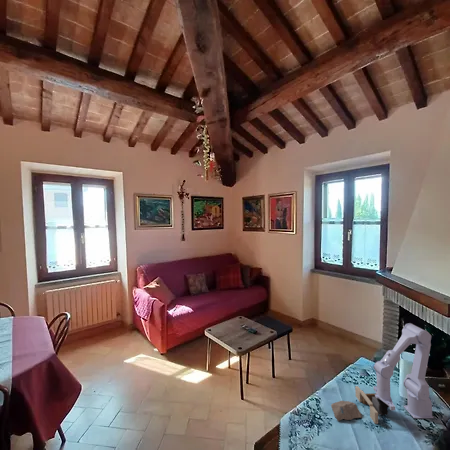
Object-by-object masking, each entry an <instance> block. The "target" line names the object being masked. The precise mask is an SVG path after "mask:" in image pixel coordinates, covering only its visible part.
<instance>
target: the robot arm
mask: <svg viewBox="0 0 450 450" xmlns="http://www.w3.org/2000/svg"><path fill="white" fill-rule="evenodd" d="M431 340H432V335H431V334H430V332H428V330H425V329H423V328H421V327H419V326H417V325H415V324H413V323H411V322H409V323H405V325H404V327H403V328H402V330H401V336H400V338H399V339H398V340H397V342H396V344H395V345H394V347H393V348H392V349H389V350H387V351H386V353H384V355H383V357H382V358H381V359H380V360H377V361H376V362H375V363H374V365H373V369H374V371H375V374H376V385H374V386H373V391H374V392H375V393H376V394H375V397H376V398H377V400H378V402H379V405H380V410H381V413H382V414H383V415H382V416H388V415H387V414H389V410H390V411H396V406H395V404H394V403H393V402H394V401H393V399H392V397H391V378H392V377H393V376H394V371H395V367H396V366H397V365H398V363H399V362H400V361H401V356H400V355H402V353H403V352H404V351H405V350H406V349H407V348H408V347H409V346H410V345H415V351H414V355H413V356H414V357H413V362H412V365H411V366H412V368H411V373H407V374H406V376H405V378H404V379H403V387H405V390H406V394H407V405H403V408H404V409H405V410H406V411H407V412H408V413H409V414H410V415H411V416H412V418H414V419H434V416H433V404H432V400H431V399H430V393H431V392H430V386H429V383H427V381H426V373H427V368H428V362H429V357H430V353H431V352H430V351H431V346H432V343H431Z"/></svg>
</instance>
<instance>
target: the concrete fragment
mask: <svg viewBox="0 0 450 450" xmlns="http://www.w3.org/2000/svg"><path fill="white" fill-rule="evenodd" d="M330 406H331V410H332V412H333V415H334V417H335V418H336V421H337V422H339V421H342V420H343V419H344V420H347V421H348V420H353V419H358V418H360V419H361V418H363V417H362V416H363V415H362V413H361V411H360V410H359V407H358V406H357V404H356V403H354V402H352V401H349V400H346V401H345V400H339V401H337V402H333V403H331V405H330Z"/></svg>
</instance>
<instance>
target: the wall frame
mask: <svg viewBox="0 0 450 450" xmlns="http://www.w3.org/2000/svg"><path fill="white" fill-rule="evenodd" d="M354 390H355V397H356V398H357V400H358V402H359V403H362V396H363V397H364V399H365V400H366V401H367V403H368V404H367V405H369V417H370V419H371V420H372V422H373V423H374V424H375V425H377V424H379V414H378V412H377V411H376V409H375V408H374V407H373V403H372V402H371V401H370V400H369V398H368V397H367V396H366V394H367V393H366V392H364V391H363V390H361V388H360V387H359V386H358V385H357V386H355V389H354Z"/></svg>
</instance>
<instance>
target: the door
mask: <svg viewBox="0 0 450 450" xmlns="http://www.w3.org/2000/svg"><path fill="white" fill-rule="evenodd" d="M365 394H366V396H367V397H368V398H369V400H370V401H371V402H372V397H375V394H376V392H375V393H374V392H373V393H365ZM361 403H362V404H363V405H369V404H368V403H367V401H366V400H365V399H364V397H363V396H362V402H361Z"/></svg>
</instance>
